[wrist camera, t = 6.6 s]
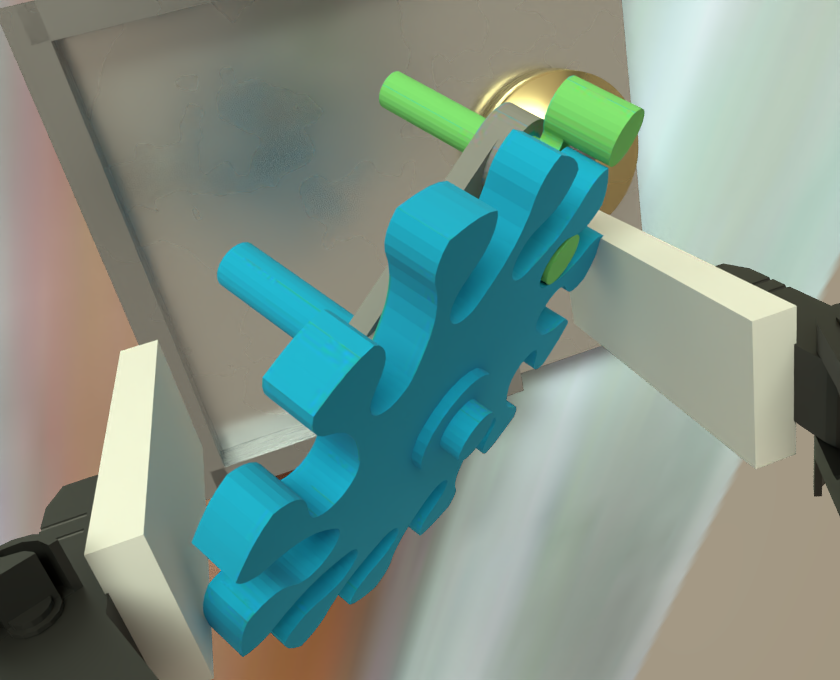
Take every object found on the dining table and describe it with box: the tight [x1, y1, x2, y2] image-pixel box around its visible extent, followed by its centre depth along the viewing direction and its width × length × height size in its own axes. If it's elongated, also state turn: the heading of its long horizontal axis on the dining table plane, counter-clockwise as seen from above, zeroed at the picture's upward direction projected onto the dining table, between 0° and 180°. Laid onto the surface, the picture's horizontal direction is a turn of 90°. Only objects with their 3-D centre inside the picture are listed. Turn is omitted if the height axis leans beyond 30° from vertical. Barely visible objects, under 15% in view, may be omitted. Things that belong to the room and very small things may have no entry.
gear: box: [191, 71, 644, 657], centre depth 14 cm, size 11×6×10 cm
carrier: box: [0, 0, 642, 500], centre depth 25 cm, size 18×16×3 cm
